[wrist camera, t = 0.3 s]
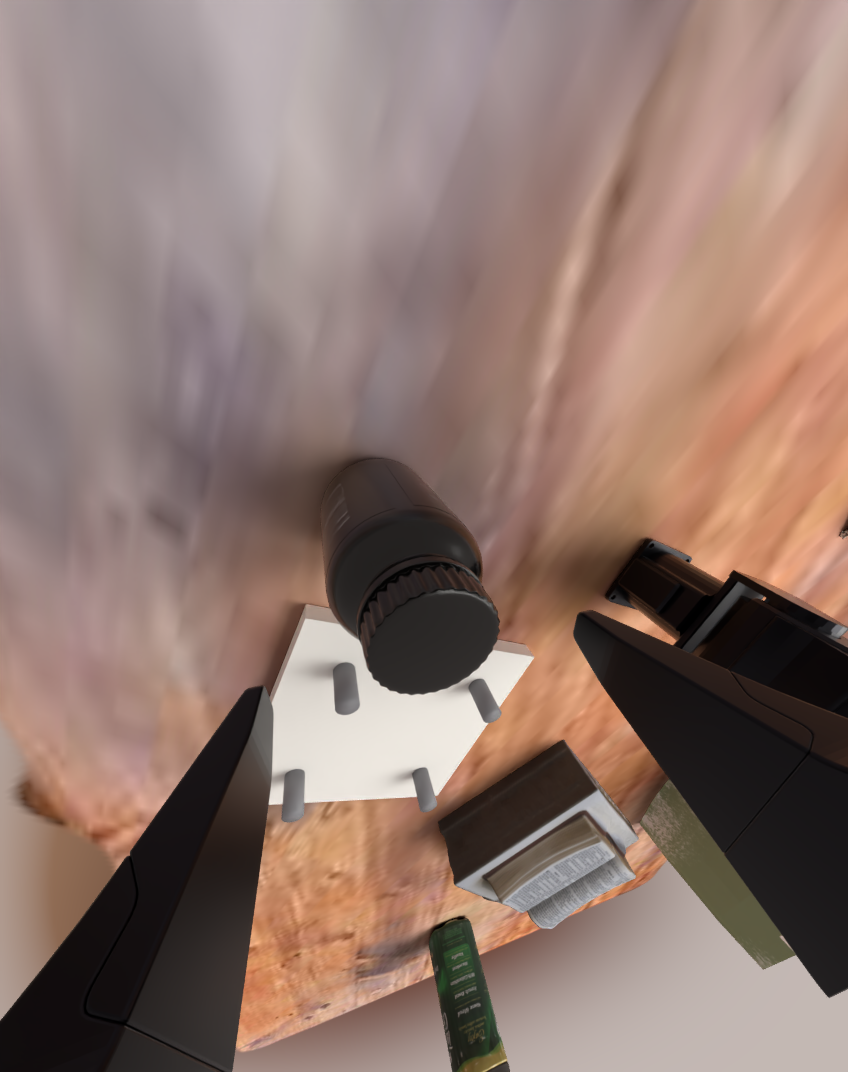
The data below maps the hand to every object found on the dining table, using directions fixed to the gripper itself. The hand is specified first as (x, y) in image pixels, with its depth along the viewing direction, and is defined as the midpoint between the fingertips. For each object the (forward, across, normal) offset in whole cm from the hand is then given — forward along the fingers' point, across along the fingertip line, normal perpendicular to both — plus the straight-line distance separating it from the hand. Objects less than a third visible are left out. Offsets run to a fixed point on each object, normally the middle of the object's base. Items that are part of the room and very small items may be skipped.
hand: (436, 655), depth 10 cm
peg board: (+13, +1, +21) cm, 25 cm away
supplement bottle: (+14, 0, +1) cm, 14 cm away
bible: (+14, -18, +50) cm, 55 cm away
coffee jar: (+14, -5, +85) cm, 86 cm away
